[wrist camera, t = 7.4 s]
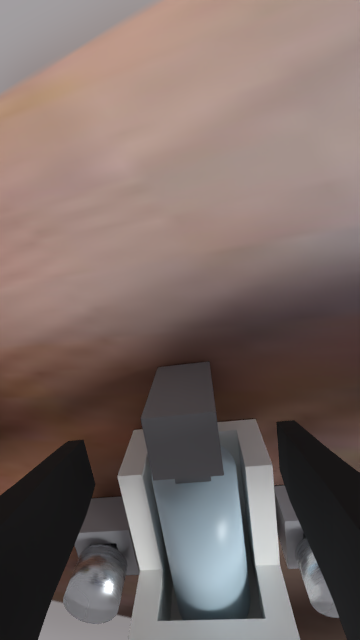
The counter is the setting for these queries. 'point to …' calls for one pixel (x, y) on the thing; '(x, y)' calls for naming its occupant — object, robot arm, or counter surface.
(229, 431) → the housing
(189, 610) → the cartridge
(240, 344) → the counter surface
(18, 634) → the robot arm
